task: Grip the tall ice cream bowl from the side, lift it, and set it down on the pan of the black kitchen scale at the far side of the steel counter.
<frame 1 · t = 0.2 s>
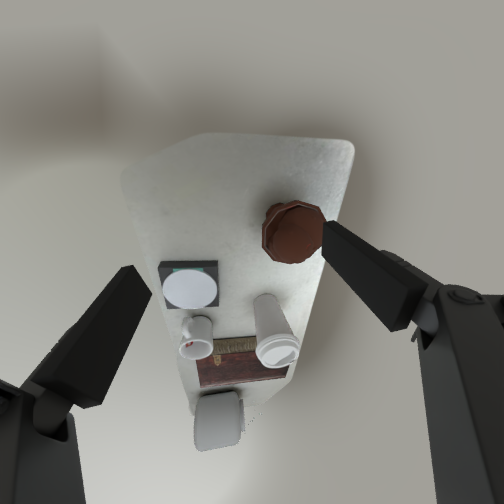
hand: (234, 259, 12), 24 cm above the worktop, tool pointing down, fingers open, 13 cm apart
hardback book: (244, 353, 60), on the worktop
ice cream bowl: (278, 215, 37), on the worktop
scale: (192, 282, 42), on the worktop
cup: (197, 318, 49), on the worktop
coffee cup: (265, 302, 49), on the worktop
jar: (228, 390, 72), on the worktop
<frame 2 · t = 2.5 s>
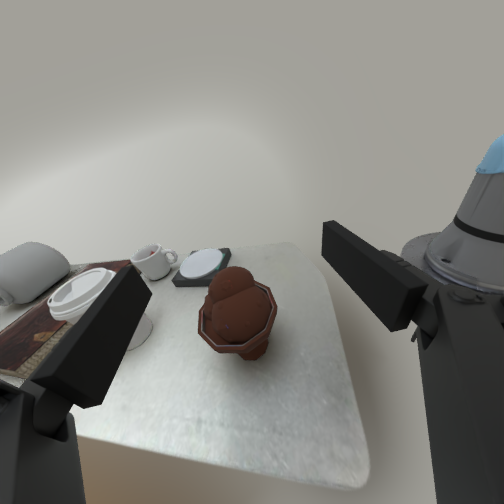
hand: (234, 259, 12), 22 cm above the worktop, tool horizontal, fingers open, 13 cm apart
hardback book: (79, 312, 46), on the worktop
ice cream bowl: (252, 343, 30), on the worktop
scale: (205, 269, 48), on the worktop
cup: (166, 272, 52), on the worktop
coffee cup: (137, 334, 36), on the worktop
jar: (38, 297, 57), on the worktop
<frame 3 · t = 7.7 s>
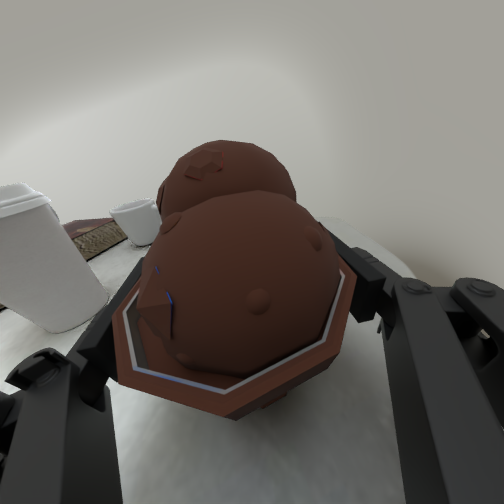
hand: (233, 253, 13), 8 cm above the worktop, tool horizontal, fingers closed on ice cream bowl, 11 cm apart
hardback book: (38, 272, 35), on the worktop
ice cream bowl: (259, 364, 14), on the worktop, touching gripper
cup: (157, 239, 39), on the worktop
coffee cup: (81, 311, 23), on the worktop
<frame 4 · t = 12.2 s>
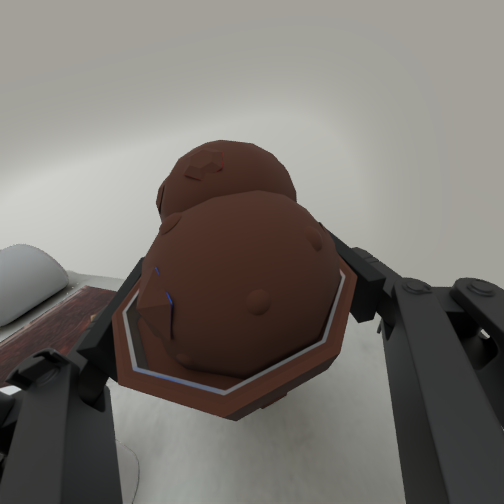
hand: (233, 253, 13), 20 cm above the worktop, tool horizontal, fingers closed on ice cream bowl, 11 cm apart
hardback book: (45, 373, 30), on the worktop
ice cream bowl: (259, 364, 14), point 12 cm above the worktop, touching gripper
coffee cup: (104, 498, 17), on the worktop
jar: (18, 318, 43), on the worktop
when the fingers open (11 cm above the worktop, at t = 16.6 s): ice cream bowl stays where it is, resting on scale.
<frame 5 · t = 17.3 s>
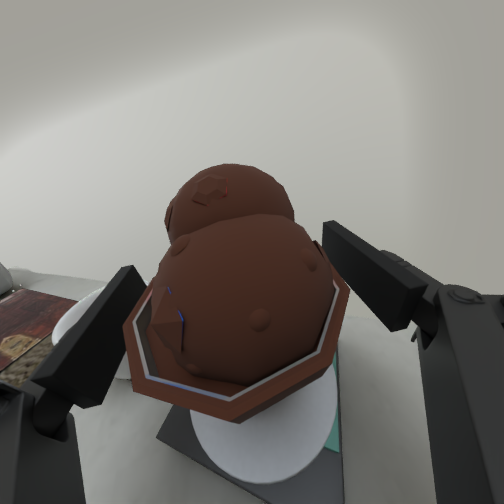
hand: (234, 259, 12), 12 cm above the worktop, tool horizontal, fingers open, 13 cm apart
ice cream bowl: (259, 368, 15), point 3 cm above the worktop, touching scale
scale: (264, 383, 16), on the worktop
cup: (158, 350, 21), on the worktop
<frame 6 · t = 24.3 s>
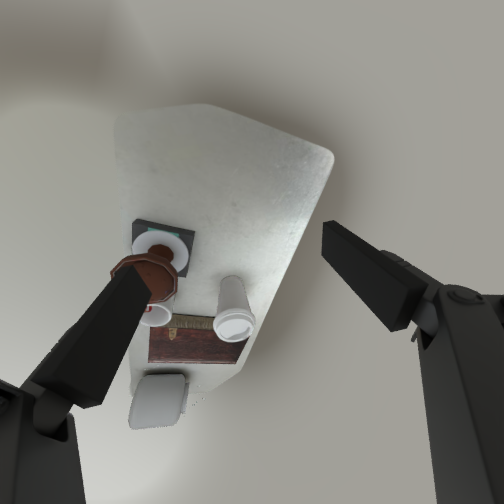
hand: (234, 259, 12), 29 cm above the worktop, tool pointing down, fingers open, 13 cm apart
hardback book: (200, 334, 61), on the worktop
ice cream bowl: (161, 254, 40), point 3 cm above the worktop, touching scale
scale: (164, 248, 42), on the worktop
cup: (161, 288, 48), on the worktop
coffee cup: (231, 284, 51), on the worktop
jar: (176, 373, 71), on the worktop
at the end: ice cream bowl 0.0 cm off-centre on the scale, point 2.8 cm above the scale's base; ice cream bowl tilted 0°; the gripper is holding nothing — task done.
